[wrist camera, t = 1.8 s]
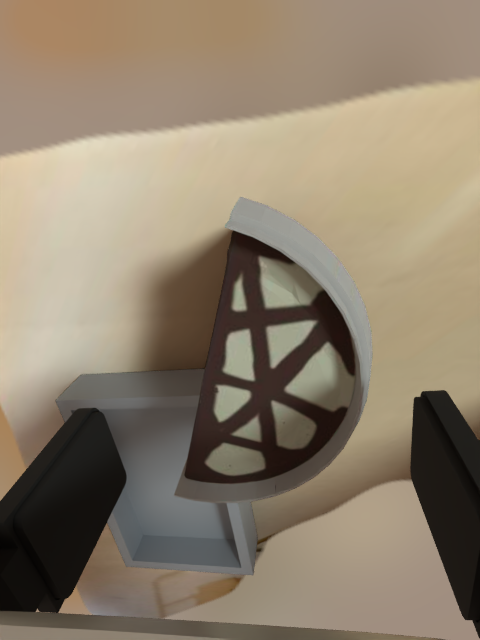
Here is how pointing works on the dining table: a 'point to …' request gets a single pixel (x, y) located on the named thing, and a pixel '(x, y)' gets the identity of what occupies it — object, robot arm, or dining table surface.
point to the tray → (163, 474)
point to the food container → (277, 364)
